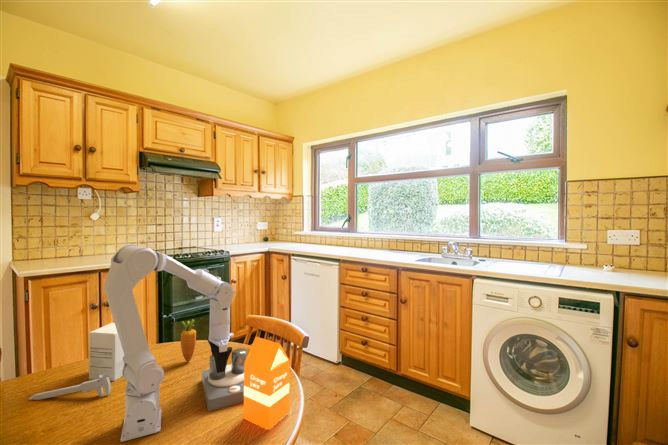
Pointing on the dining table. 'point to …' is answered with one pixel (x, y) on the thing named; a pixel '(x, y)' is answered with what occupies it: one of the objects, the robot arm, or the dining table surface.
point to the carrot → (188, 340)
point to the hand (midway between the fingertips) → (219, 366)
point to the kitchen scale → (223, 389)
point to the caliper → (79, 388)
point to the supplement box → (105, 353)
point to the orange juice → (266, 383)
